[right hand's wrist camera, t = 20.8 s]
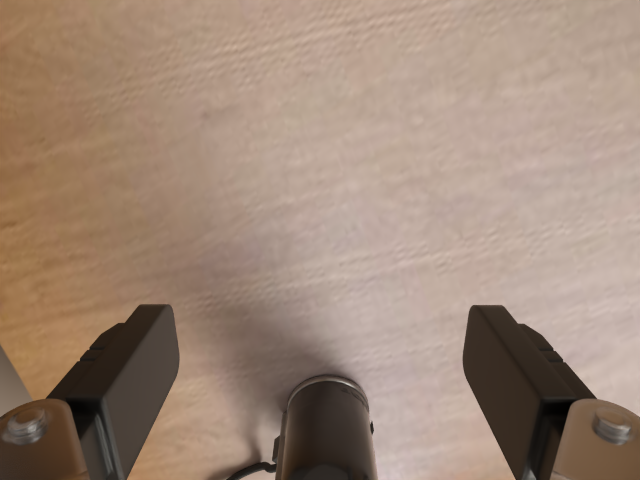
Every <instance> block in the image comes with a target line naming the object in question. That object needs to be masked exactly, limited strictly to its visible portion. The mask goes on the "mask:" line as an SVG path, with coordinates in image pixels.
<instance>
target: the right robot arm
mask: <svg viewBox="0 0 640 480" xmlns="http://www.w3.org/2000/svg"><path fill="white" fill-rule="evenodd" d="M178 368H179V348H178V341H177V334H176V327H175V320H174V313H173V309H172V307H171V306H170V305H168V304H142V305H139V306H138V307H137V308H136V310H135V311H134V312H133V313H132V315H131V316H130V317H129V318H128V320H127V321H126V322H125V323H118V324H116V325H115V326H113V327H112V328H110V329H108V330H107V331H105V332H104V333H102V334H101V335H100V336H99V337H98V338H97V339H96V341H95V342H94V343H93V344H92V345H91V346H90V349H89V350H87V351H86V352H85V353H84V355H83V356H82V357H81V358H80V361H77V363H76V364H75V365H74V366H73V367H72V368H71V370H70V371H69V372H68V373H67V374H66V375H65V377H64V378H63V379H62V380H61V381H60V382H59V384H58V385H57V386H56V387H55V388H54V389H53V391H52V392H51V393H50V394H49V395H48V396H47V398H46V399H41V400H36V401H32V402H29V403H26V404H23V405H21V406H19V407H16V408H15V409H13V410H11V411H9V412H7V413H6V414H4V415H3V416H1V417H0V480H127V478H128V476H129V474H130V471H131V469H132V467H133V465H134V463H135V461H136V459H137V457H138V455H139V453H140V451H141V449H142V447H143V445H144V443H145V440H146V438H147V436H148V434H149V432H150V430H151V428H152V426H153V424H154V422H155V420H156V418H157V416H158V414H159V412H160V409H161V407H162V405H163V403H164V401H165V399H166V397H167V395H168V393H169V391H170V389H171V387H172V385H173V383H174V381H175V378H176V376H177V373H178ZM463 368H464V373H465V376H466V379H467V381H468V383H469V385H470V387H471V389H472V391H473V393H474V395H475V397H476V399H477V401H478V403H479V405H480V407H481V410H482V412H483V414H484V416H485V418H486V420H487V422H488V424H489V426H490V428H491V430H492V432H493V434H494V436H495V438H496V440H497V442H498V444H499V446H500V448H501V450H502V452H503V454H504V456H505V459H506V461H507V463H508V465H509V467H510V469H511V471H512V473H513V475H514V477H515V479H516V480H640V417H639V416H637V415H636V414H634V413H633V412H631V411H629V410H627V409H625V408H624V407H621V406H619V405H617V404H614V403H611V402H608V401H604V400H599V399H597V398H596V397H595V396H594V395H593V394H592V392H591V391H590V390H589V389H588V388H587V387H586V385H585V384H584V383H583V382H582V381H581V380H580V379H579V377H578V376H577V375H576V374H575V373H574V372H573V370H572V369H571V368H570V367H569V366H568V365H567V364H566V362H563V359H562V358H561V357H560V355H559V354H558V353H557V352H556V351H554V350H553V347H552V346H551V345H550V344H549V343H548V342H547V341H546V339H545V338H544V337H543V336H542V335H541V334H539V333H538V332H536V331H535V330H533V329H531V328H530V327H528V326H527V325H525V324H518V323H517V322H516V321H515V320H514V318H513V317H512V316H511V315H510V313H509V312H508V311H507V310H506V308H505V307H504V306H502V305H473V306H472V307H471V308H470V311H469V316H468V323H467V329H466V336H465V343H464V350H463ZM373 431H374V429H373V423H372V422H371V425H370V419H369V406H368V400H367V397H366V395H365V393H364V392H363V390H362V389H361V388H360V387H359V386H358V385H356V384H355V383H354V382H352V381H350V380H348V379H346V378H343V377H339V376H333V375H324V376H317V377H314V378H311V379H308V380H306V381H304V382H303V383H301V384H300V385H298V386H297V387H296V388H295V389H294V391H293V392H292V394H291V395H290V397H289V400H288V405H287V411H286V412H285V413H283V415H282V424H281V432H280V436H278V437H277V438H276V439H275V441H274V449H273V457H272V461H273V462H275V463H276V464H273V465H270V464H269V463H267V462H262V463H258V464H255V465H252V466H250V467H248V468H245V469H243V470H241V471H239V472H237V473H236V474H234V475H232V476H231V477H229V478H228V479H226V480H239V479H241V478H243V477H245V476H247V475H249V474H252V473H254V472H257V471H261V470H265V471H267V472H269V473H273V472H276V477H275V480H378V474H377V468H376V461H375V454H374V447H373V440H372V434H373Z"/></svg>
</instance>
